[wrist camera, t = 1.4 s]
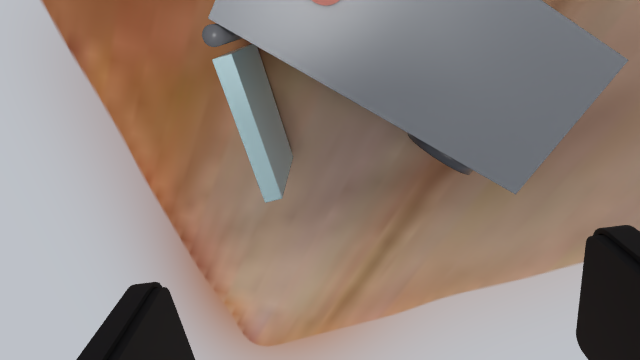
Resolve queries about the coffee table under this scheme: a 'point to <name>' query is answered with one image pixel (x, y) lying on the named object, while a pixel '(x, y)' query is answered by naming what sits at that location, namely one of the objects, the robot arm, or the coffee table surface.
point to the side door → (256, 118)
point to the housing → (441, 70)
